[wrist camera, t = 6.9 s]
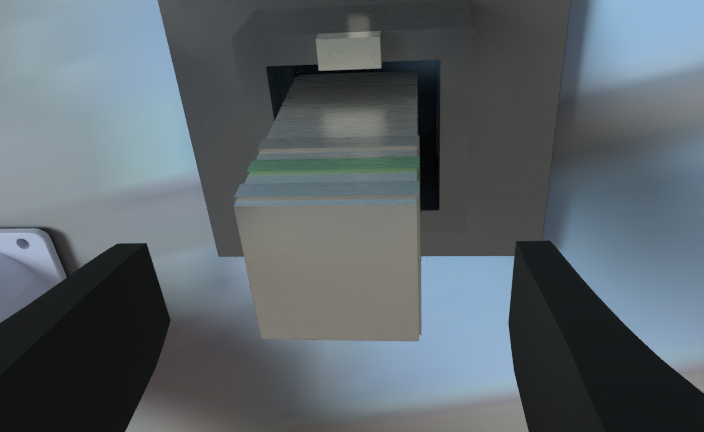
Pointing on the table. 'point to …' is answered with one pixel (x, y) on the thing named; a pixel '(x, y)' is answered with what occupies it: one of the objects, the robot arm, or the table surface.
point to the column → (337, 211)
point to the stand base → (368, 53)
